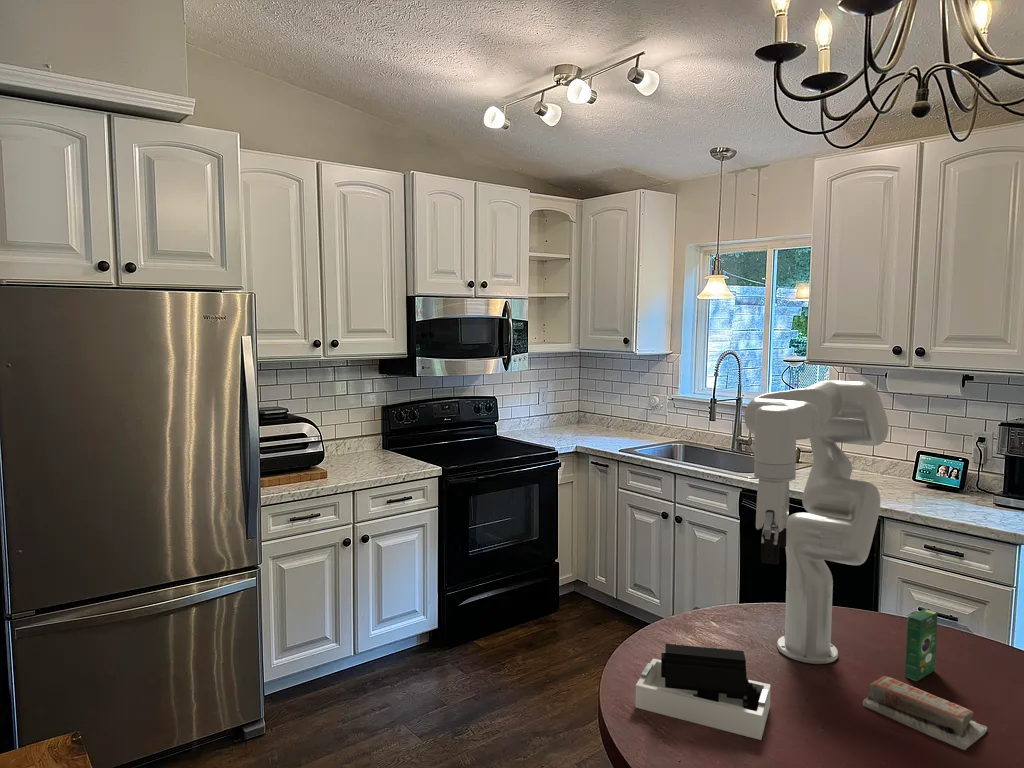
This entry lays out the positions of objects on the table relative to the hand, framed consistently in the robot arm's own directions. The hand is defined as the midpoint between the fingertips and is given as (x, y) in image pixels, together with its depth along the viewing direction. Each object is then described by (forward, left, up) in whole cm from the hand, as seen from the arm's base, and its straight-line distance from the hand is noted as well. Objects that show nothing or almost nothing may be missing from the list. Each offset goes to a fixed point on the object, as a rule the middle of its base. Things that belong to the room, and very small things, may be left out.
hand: (773, 554), depth 135 cm
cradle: (+11, -11, -28) cm, 32 cm away
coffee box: (-23, +27, -29) cm, 45 cm away
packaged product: (-4, +26, -29) cm, 40 cm away
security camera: (+11, -10, -28) cm, 31 cm away
